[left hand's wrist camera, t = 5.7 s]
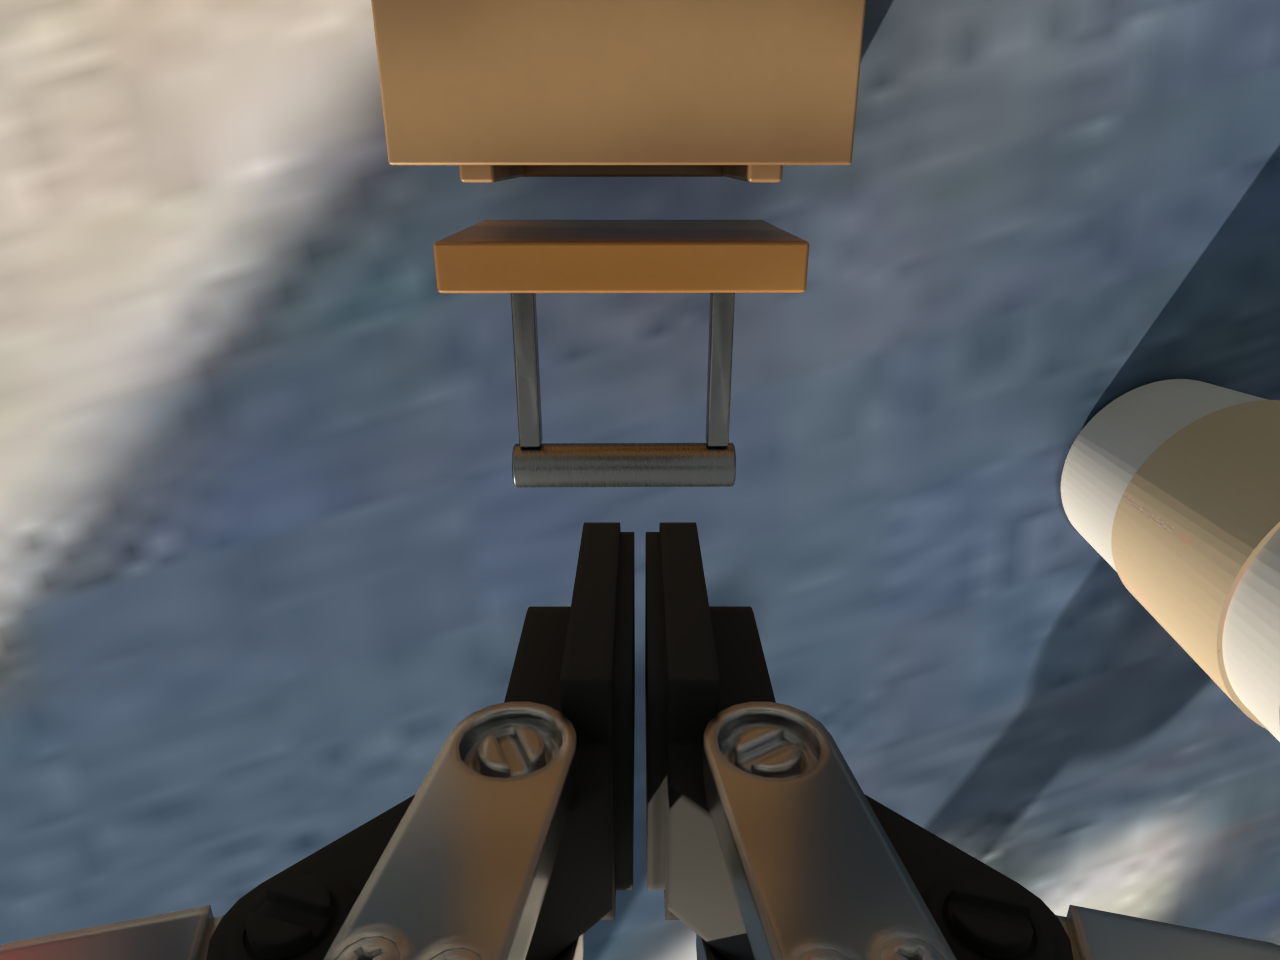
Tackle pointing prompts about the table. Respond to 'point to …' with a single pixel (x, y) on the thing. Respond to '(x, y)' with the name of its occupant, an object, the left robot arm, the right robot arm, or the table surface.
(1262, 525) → the coffee cup
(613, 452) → the drawer
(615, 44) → the cabinet
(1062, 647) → the table surface
